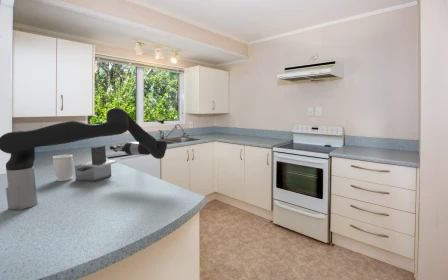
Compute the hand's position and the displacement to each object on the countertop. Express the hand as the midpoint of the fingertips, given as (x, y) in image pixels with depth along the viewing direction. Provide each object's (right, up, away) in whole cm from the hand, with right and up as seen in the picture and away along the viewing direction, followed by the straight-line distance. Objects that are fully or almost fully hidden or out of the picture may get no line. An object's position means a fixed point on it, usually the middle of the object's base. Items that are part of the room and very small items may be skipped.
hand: (110, 147), depth 144 cm
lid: (-9, -10, +4) cm, 14 cm away
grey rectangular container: (-13, -19, +6) cm, 24 cm away
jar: (-30, -20, +3) cm, 36 cm away
